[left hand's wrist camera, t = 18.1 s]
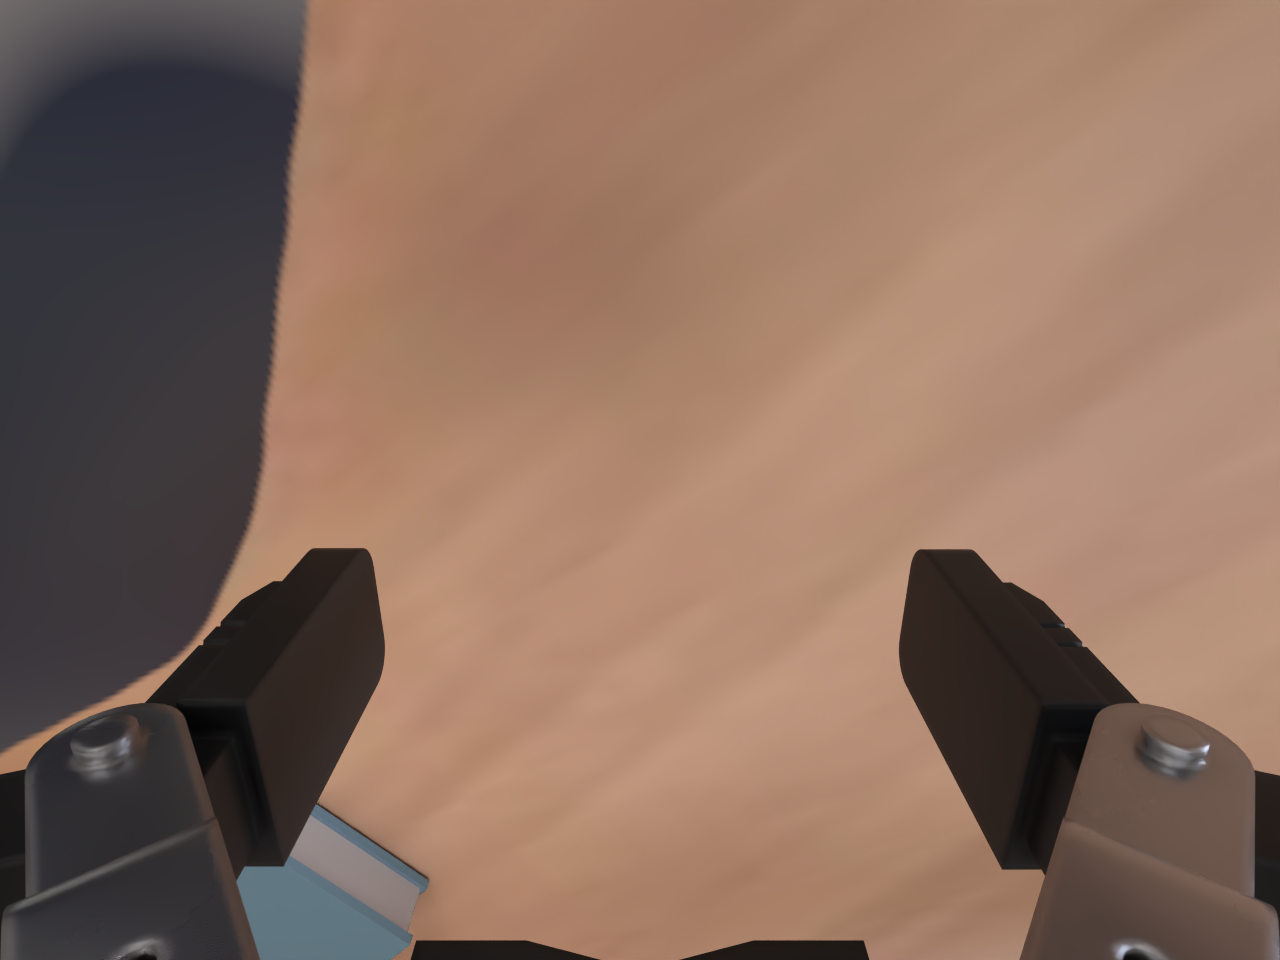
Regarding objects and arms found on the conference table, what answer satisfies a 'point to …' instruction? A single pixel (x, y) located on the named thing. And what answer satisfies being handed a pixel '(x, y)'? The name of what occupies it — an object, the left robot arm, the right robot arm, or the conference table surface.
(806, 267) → the conference table surface
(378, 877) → the book
